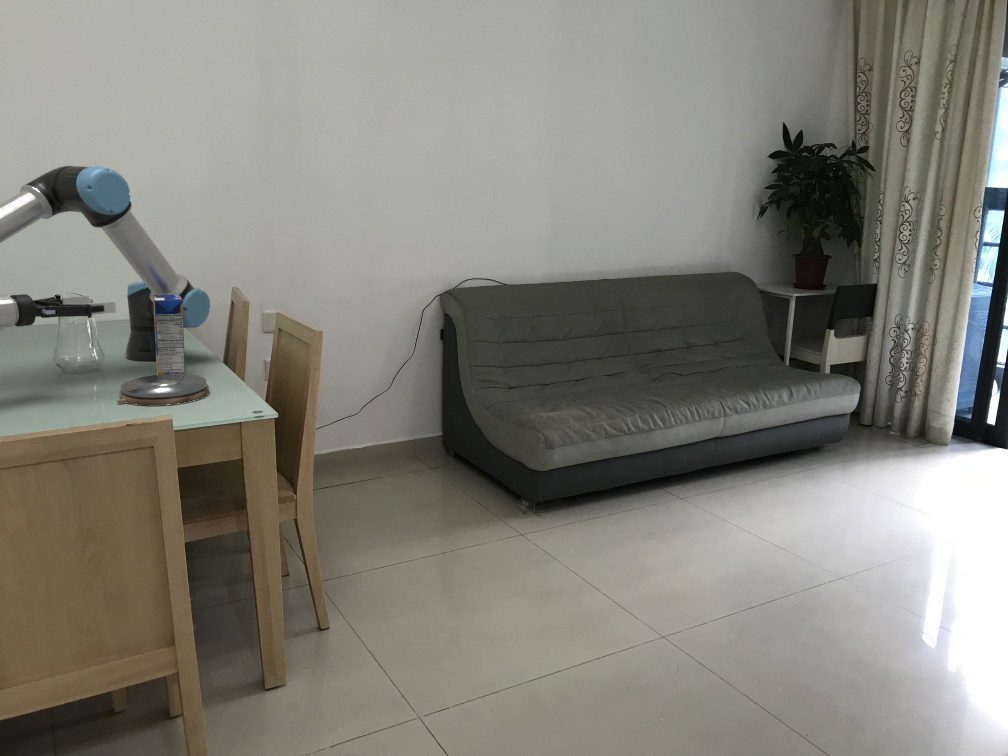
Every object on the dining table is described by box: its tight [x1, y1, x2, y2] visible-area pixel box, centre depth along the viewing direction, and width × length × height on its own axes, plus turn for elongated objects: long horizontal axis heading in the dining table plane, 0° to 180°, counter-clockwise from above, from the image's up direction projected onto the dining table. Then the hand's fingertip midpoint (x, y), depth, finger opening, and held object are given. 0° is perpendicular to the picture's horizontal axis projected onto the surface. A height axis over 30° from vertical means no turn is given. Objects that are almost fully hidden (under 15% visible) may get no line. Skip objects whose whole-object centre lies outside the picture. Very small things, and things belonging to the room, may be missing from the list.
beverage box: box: [153, 295, 186, 375], centre depth 223 cm, size 7×11×22 cm, turn 25°
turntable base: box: [116, 384, 210, 406], centre depth 205 cm, size 23×21×2 cm
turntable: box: [120, 373, 208, 399], centre depth 205 cm, size 20×20×2 cm
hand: (101, 304), depth 208 cm, fingers open, 13 cm apart
